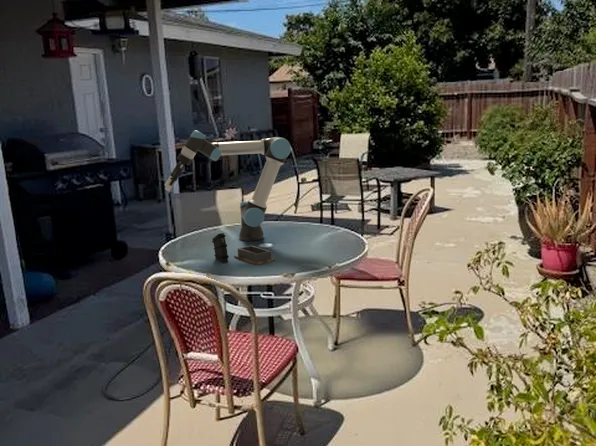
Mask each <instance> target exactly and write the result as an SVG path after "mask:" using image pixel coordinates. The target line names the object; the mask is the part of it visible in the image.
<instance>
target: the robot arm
mask: <svg viewBox="0 0 596 446" xmlns="http://www.w3.org/2000/svg"><path fill="white" fill-rule="evenodd" d="M206 138H207V136H206V135H205V134H204V133H202V132H200V131H199V130H198V129H197V130H196V129H195V130H193V131H192V133H191V134H190V136H189V137H188V139H187V141H186V143H185V144H184V146H183V147H181V151H180V153H178V156H177V158H176V159H177V160H178V162H177V163H176V165H175V167H174V168H173V170H172V171H171V173H170V175H169V177H168V178H167V180H166V182H165V183H164V186H165V188H164V190H166V191H167V192H170V191H171V190H172V188H173V186H174V185H175V183H176V181H178V178H179V177H180V174H181V173H182V171H183V170H184V168H185V165H187V166H190V164H191V163H192V160H194V157H195V156H196V154H197V152H198V153H201V154H203V155H204V156H206V157H207V158H209V159H210V160H212V161H215V162H217V161H218V159H219V158H220V156H229V155H230V156H233V155H234V156H235V155H251V154H252V155H254V154H261V155H263V156H265V160H266V161H265V163H264V167H263V168H262V170H261V174H260V177H259V179H258V182H257V184H256V187H255V190H254V193H253V195H252V197H251V199H249V200H247V201H241V202H240V205H239V210H240V225H241V227H240V231H239V234H238V239H239V240H240V241H244V242H251V241H259V240H263V239H264V235H265V234H264V231H263V229H262V226H261V225H262V224H263V223H264V221H265V213H266V212H267V208H268V207H267V202H268V199H269V196H270V194H271V192H272V189H273V186H274V183H275V181H276V178H277V175H278V173H279V170H280V168H281V166H283V165H285V164H286V163H285V162H286V159H287V158H288V157H289V155H290V154H291V151H292V148H291V147H292V146H291V144H290V141H288V140H287V139H286V138H284V137H280V136H274V137H268V138H262V139H260V140H247V141H246V140H244V141H223V142H222V141H221V142H220V141H219V142H218V141H217V142H210V141H208V140H207V139H206Z"/></svg>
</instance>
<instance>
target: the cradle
mask: <svg viewBox="0 0 596 446" xmlns="http://www.w3.org/2000/svg"><path fill="white" fill-rule="evenodd" d="M237 255H238V256H241V257H244V258H247V259H250V260H253V261H256V262H260V261H264V260H268V259H271V257H272V251H271V250H268V249H266V248H262V247H258V246H255V245H247V246H246V245H245V246H242V247H238V248H237Z"/></svg>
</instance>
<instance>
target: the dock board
mask: <svg viewBox="0 0 596 446" xmlns="http://www.w3.org/2000/svg"><path fill="white" fill-rule="evenodd" d="M233 256H234V258H235V259H238V260H241V261H244V262H246V263H250V264H253V265H254V266H255V265H256V266H259V265H263V264H267V263H271V262H274V261H275V262H276V260H277V259H276V258H274V257H272V256H271V259H268V260H264V261H260V262H256V261H253V260H250V259H247V258H244V257H241V256H238V254H235V255H233Z"/></svg>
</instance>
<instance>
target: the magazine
mask: <svg viewBox="0 0 596 446" xmlns="http://www.w3.org/2000/svg"><path fill="white" fill-rule="evenodd" d="M211 242H212V243H213V246H214V247H213V250H214V254H213V256H214V257H215V260H217V261H218V262H220V263H222V264H226V263H229V256H230V255H228V248H227V247H228V244H227V241H226V234H225V233H224V232H221V233H217V234H216V235H215V236H214V237H213V238H212V240H211Z"/></svg>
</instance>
